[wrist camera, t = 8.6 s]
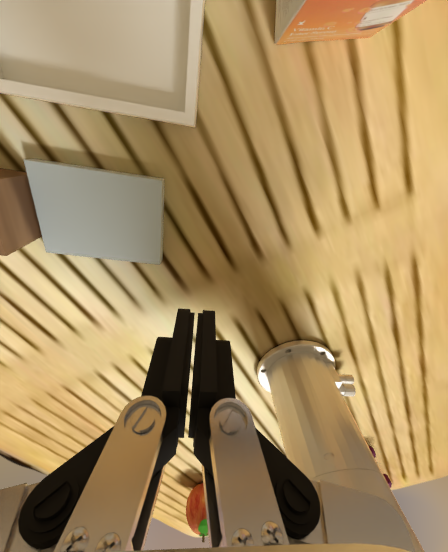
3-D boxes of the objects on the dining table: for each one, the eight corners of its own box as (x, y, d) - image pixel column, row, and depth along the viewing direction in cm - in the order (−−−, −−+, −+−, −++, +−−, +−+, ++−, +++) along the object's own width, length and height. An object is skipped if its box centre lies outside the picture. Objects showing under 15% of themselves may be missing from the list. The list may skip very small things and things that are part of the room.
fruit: (186, 491, 62) (182, 548, 54) (189, 476, 57) (186, 535, 49) (217, 492, 63) (218, 547, 55) (223, 477, 59) (226, 535, 50)
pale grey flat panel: (165, 177, 24) (161, 180, 22) (163, 257, 28) (160, 264, 26) (38, 158, 22) (23, 159, 20) (56, 245, 27) (46, 252, 25)
